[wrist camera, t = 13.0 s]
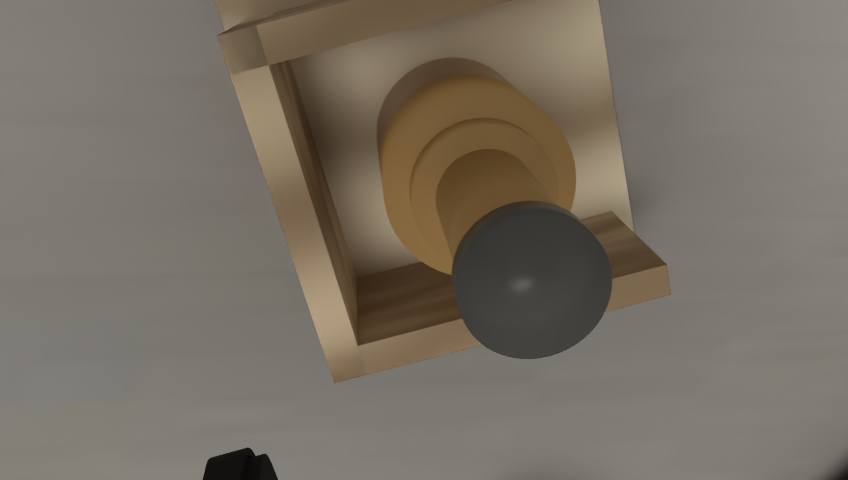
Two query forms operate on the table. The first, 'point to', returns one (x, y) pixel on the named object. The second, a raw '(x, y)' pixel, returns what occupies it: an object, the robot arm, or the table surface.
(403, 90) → the bottle
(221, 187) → the table surface
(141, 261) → the table surface
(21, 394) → the table surface
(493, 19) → the u rest
